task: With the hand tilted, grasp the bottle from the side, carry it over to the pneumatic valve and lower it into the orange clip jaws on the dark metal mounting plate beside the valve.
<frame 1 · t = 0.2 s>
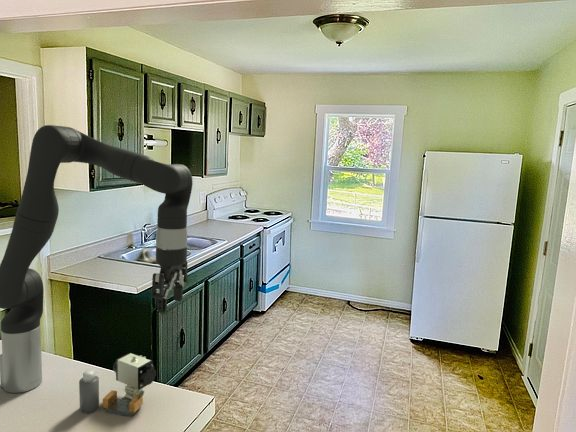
hand: (170, 306, 106), 29 cm above the counter, tool pointing down, fingers open, 8 cm apart
pneumatic valve: (135, 396, 115), on the counter
bottle: (89, 408, 109), on the counter
clip bracket: (122, 409, 109), on the counter
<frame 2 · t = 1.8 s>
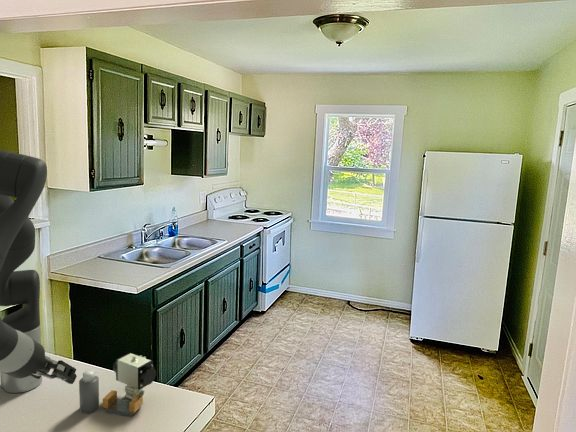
hand: (56, 376, 95), 15 cm above the counter, tool tilted 45°, fingers open, 8 cm apart
nothing on the counter moved.
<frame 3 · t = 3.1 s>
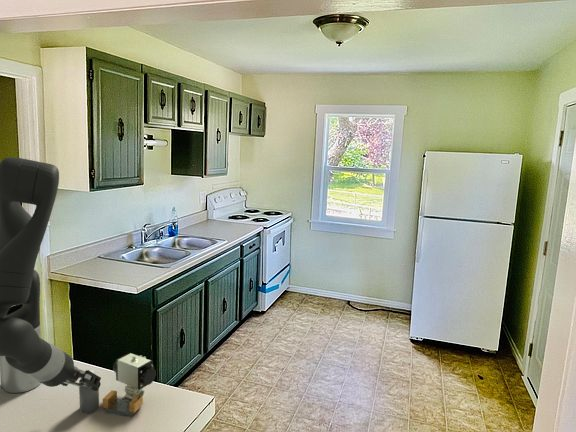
hand: (82, 384, 105), 8 cm above the counter, tool tilted 45°, fingers open, 8 cm apart
nothing on the counter moved.
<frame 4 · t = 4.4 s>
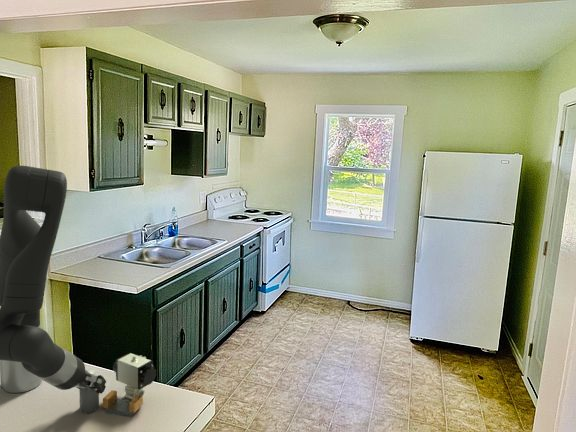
hand: (93, 387, 110), 5 cm above the counter, tool tilted 45°, fingers closed on bottle, 4 cm apart
bottle: (89, 408, 109), on the counter, touching gripper
everything else where it was.
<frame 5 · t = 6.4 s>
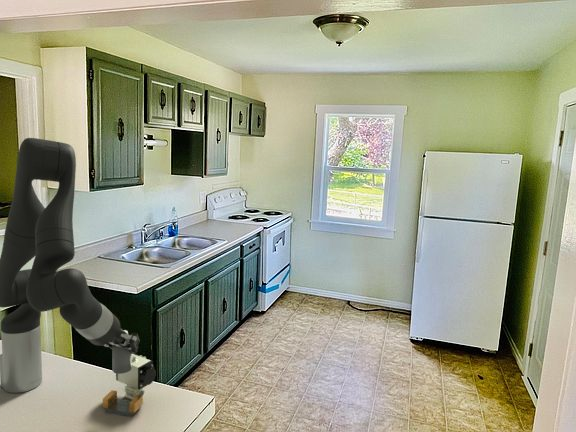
hand: (126, 348, 108), 16 cm above the counter, tool tilted 45°, fingers closed on bottle, 4 cm apart
bottle: (122, 369, 107), point 12 cm above the counter, touching gripper
everything else where it was.
when the fingers open (7 cm above the counter, at t = 8.5 s): bottle drops 1 cm, resting on clip bracket.
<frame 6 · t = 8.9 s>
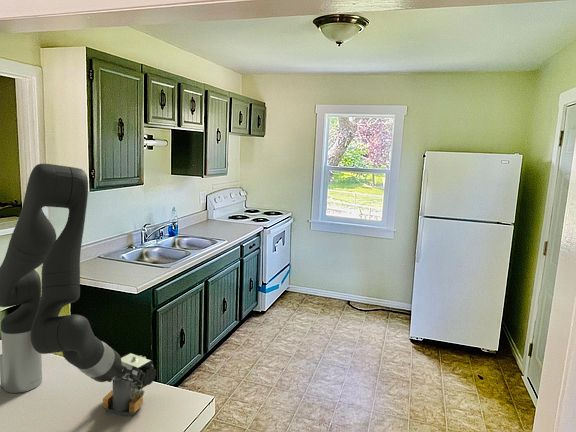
hand: (125, 380, 109), 7 cm above the counter, tool tilted 45°, fingers open, 8 cm apart
bottle: (122, 405, 109), point 1 cm above the counter, touching clip bracket
everything else where it was.
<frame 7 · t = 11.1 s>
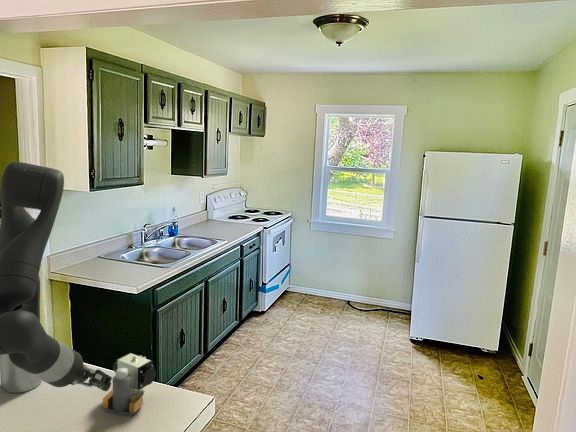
hand: (91, 383, 97), 13 cm above the counter, tool tilted 45°, fingers open, 8 cm apart
nothing on the counter moved.
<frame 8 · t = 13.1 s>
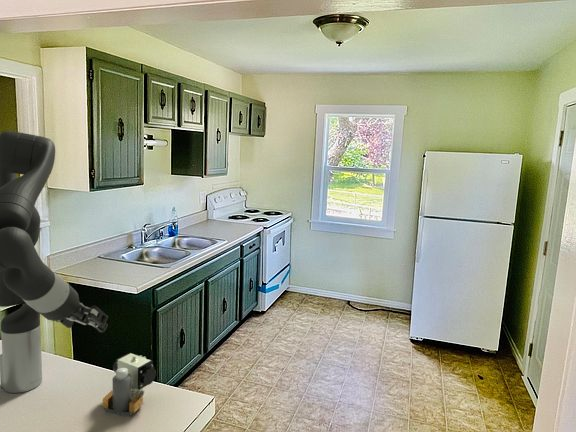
hand: (87, 326, 96), 27 cm above the counter, tool tilted 45°, fingers open, 8 cm apart
nothing on the counter moved.
at the end: bottle 0.1 cm off-centre on the clip bracket, point 1.0 cm above the clip bracket's base; bottle tilted 0°; the gripper is holding nothing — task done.
